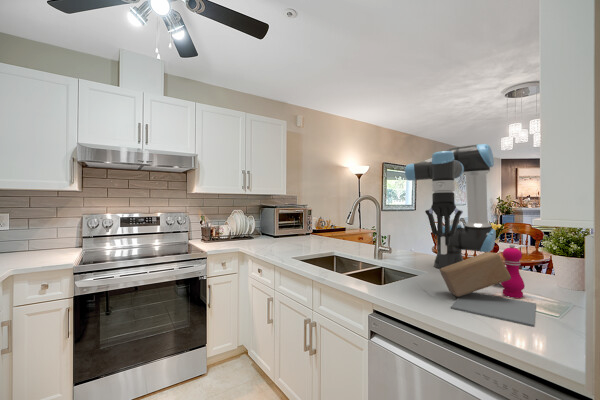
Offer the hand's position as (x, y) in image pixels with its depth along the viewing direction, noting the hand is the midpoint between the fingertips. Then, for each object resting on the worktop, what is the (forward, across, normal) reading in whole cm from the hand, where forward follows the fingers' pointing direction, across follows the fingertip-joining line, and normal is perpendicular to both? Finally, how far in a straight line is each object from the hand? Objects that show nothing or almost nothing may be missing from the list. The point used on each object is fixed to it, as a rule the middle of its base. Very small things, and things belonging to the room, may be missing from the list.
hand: (443, 253), depth 108 cm
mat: (+17, +16, 0) cm, 23 cm away
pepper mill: (+17, +19, +18) cm, 31 cm away
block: (+12, 0, +2) cm, 12 cm away
